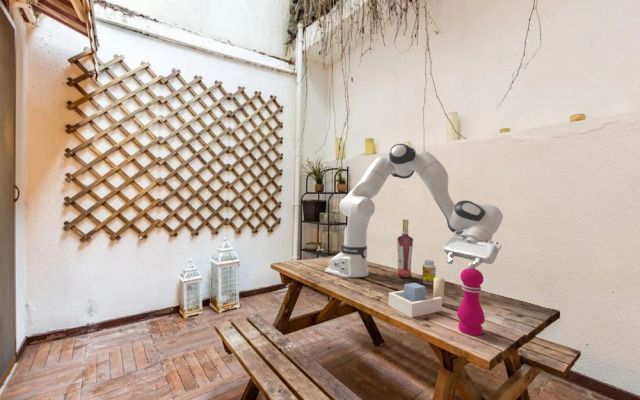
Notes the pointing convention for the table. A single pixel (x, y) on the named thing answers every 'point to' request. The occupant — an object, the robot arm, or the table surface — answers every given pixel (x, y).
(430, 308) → the white u-shaped wall
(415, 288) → the block
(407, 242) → the liquor
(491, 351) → the table surface
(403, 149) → the robot arm
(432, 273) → the supplement bottle
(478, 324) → the pepper mill
